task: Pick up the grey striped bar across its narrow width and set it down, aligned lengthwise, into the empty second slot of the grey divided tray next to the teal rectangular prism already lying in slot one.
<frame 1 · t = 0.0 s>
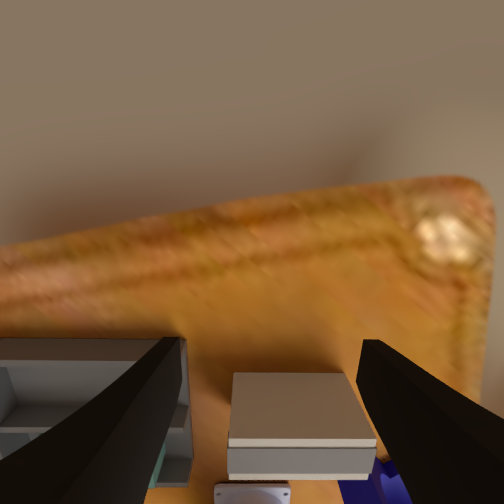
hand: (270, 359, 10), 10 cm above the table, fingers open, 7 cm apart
grey divided tray: (108, 402, 23), on the table
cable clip: (374, 463, 27), on the table
grey striped bar: (287, 389, 23), on the table
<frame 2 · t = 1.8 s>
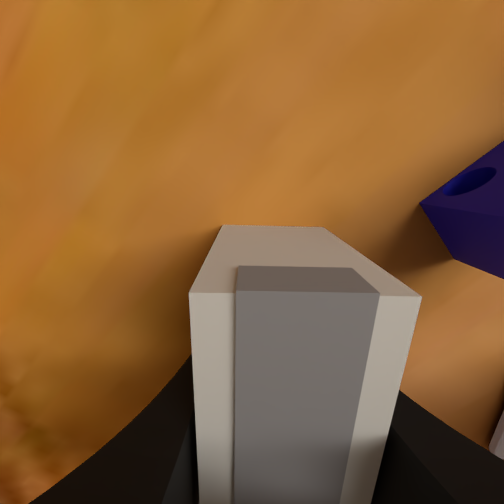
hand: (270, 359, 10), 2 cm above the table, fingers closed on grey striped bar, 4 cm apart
grey striped bar: (267, 333, 11), on the table, touching gripper
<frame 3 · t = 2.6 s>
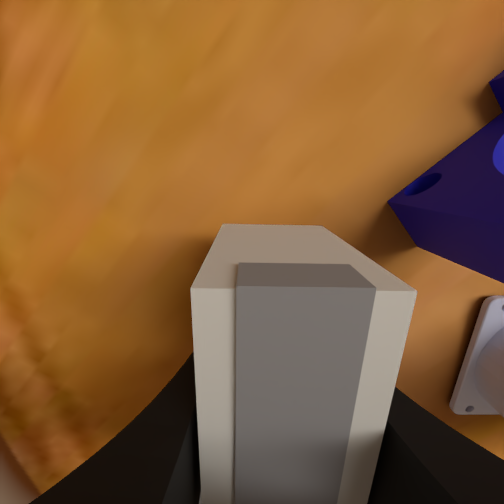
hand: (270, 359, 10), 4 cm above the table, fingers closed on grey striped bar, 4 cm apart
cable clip: (501, 127, 12), on the table
grey striped bar: (267, 331, 12), point 2 cm above the table, touching gripper
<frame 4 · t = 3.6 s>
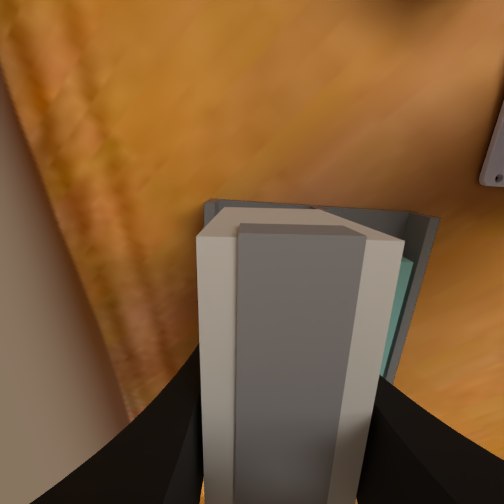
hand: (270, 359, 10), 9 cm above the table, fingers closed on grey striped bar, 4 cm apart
grey divided tray: (299, 304, 19), on the table
teal rectangular prism: (345, 310, 19), point 1 cm above the table, touching grey divided tray
grey striped bar: (267, 315, 12), point 7 cm above the table, touching gripper
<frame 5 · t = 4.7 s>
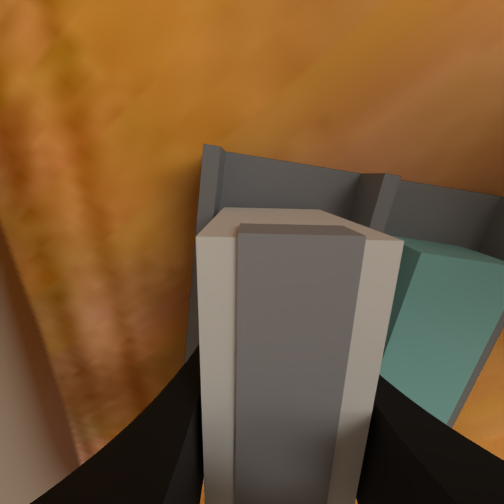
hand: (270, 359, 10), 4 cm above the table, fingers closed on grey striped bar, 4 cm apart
grey divided tray: (324, 315, 14), on the table
teal rectangular prism: (387, 329, 13), point 1 cm above the table, touching grey divided tray
grey striped bar: (267, 315, 12), point 2 cm above the table, touching gripper
when the fingers open (3 cm above the table, at t = 5.3 s): grey striped bar stays where it is, resting on grey divided tray.
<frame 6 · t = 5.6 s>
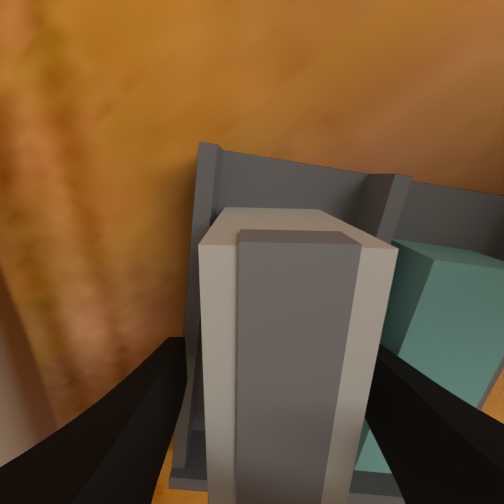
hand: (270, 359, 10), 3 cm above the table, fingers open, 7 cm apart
grey divided tray: (327, 323, 13), on the table
teal rectangular prism: (394, 338, 13), point 1 cm above the table, touching grey divided tray
grey striped bar: (266, 312, 12), point 1 cm above the table, touching grey divided tray
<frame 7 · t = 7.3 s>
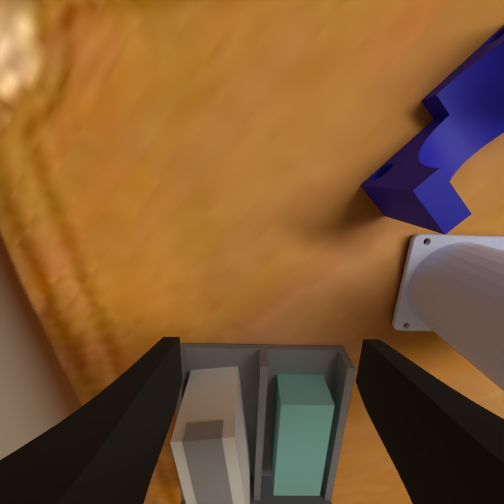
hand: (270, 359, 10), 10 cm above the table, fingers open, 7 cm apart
grey divided tray: (258, 412, 24), on the table
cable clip: (436, 129, 17), on the table
teal rectangular prism: (295, 418, 23), point 1 cm above the table, touching grey divided tray
grey striped bar: (222, 413, 23), point 1 cm above the table, touching grey divided tray
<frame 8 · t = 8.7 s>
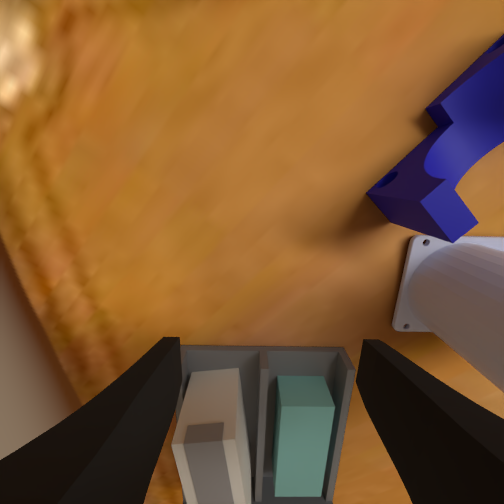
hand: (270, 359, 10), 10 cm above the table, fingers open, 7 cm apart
grey divided tray: (259, 413, 24), on the table
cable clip: (440, 136, 17), on the table
teal rectangular prism: (296, 420, 23), point 1 cm above the table, touching grey divided tray
grey striped bar: (223, 414, 23), point 1 cm above the table, touching grey divided tray
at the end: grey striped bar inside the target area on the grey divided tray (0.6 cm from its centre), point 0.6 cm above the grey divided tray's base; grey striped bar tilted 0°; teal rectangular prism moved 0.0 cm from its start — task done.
